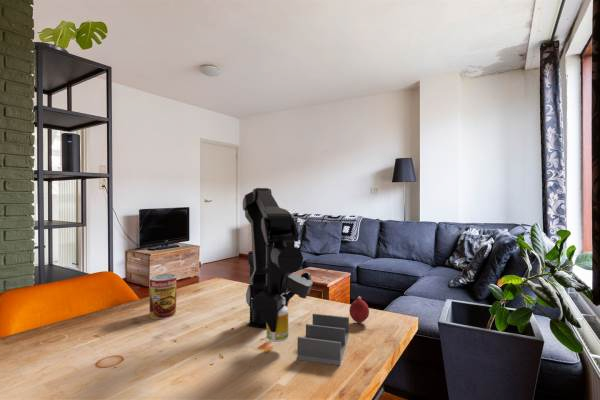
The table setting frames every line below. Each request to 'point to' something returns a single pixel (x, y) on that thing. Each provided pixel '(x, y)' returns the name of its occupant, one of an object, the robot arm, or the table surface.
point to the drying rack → (324, 339)
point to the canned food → (162, 296)
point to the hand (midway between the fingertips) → (277, 326)
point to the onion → (359, 310)
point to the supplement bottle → (280, 326)
